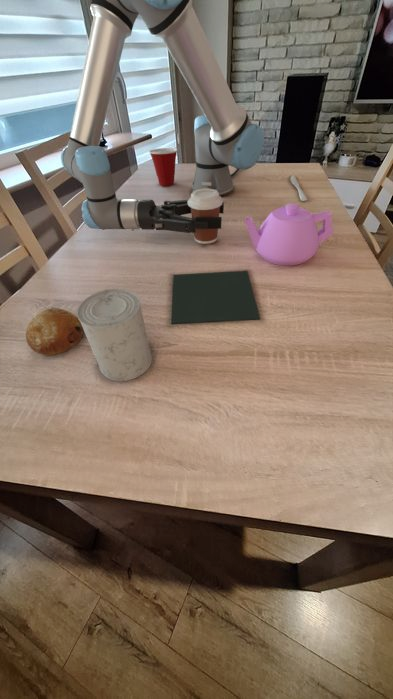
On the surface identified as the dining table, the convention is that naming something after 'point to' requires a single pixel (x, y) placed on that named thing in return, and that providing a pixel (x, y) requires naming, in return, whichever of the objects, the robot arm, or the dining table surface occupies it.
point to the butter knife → (295, 183)
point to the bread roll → (53, 331)
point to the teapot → (289, 234)
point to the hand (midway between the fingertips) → (222, 215)
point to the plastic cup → (164, 164)
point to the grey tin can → (116, 333)
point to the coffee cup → (205, 212)
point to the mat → (213, 298)
